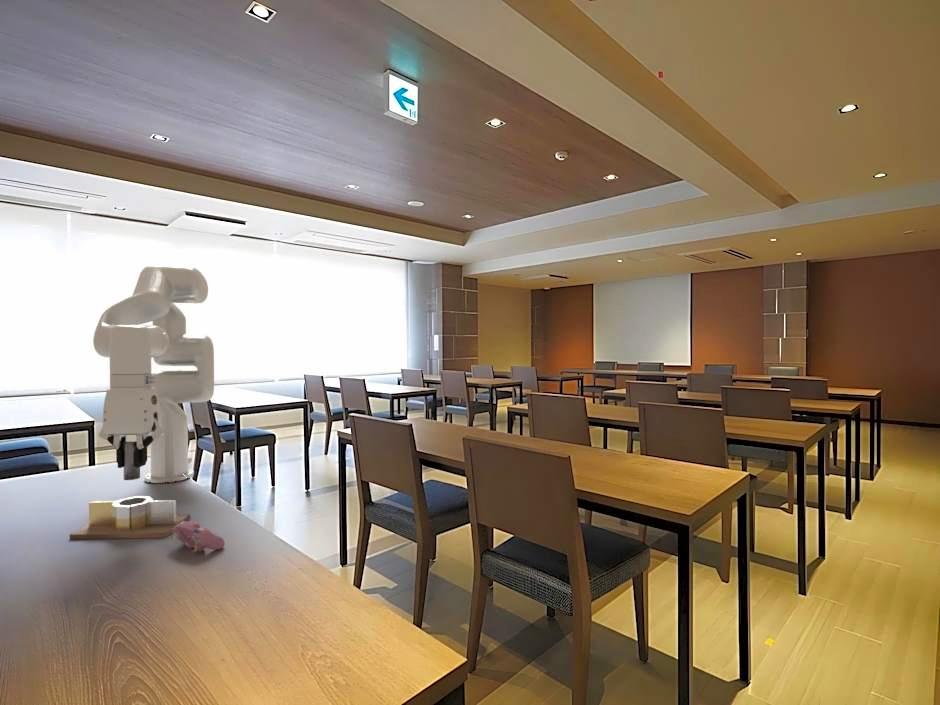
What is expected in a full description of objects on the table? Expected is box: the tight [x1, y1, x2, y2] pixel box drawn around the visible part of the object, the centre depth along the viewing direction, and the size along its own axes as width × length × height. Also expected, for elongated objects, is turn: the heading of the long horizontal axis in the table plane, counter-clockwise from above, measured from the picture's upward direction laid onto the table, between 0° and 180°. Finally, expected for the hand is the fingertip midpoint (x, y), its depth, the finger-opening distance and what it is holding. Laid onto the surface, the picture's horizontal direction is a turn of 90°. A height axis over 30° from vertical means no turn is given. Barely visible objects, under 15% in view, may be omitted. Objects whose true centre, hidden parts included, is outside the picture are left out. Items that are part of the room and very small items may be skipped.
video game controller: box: [171, 520, 225, 552], centre depth 101 cm, size 10×5×7 cm, turn 63°
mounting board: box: [69, 513, 191, 540], centre depth 111 cm, size 11×19×1 cm, turn 94°
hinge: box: [88, 495, 177, 530], centre depth 111 cm, size 7×18×5 cm, turn 94°
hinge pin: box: [123, 439, 141, 481], centre depth 110 cm, size 3×3×8 cm
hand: (132, 465), depth 110 cm, fingers closed on hinge pin, 2 cm apart
